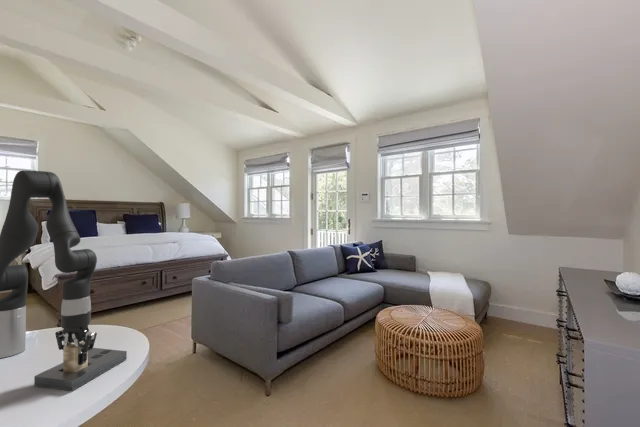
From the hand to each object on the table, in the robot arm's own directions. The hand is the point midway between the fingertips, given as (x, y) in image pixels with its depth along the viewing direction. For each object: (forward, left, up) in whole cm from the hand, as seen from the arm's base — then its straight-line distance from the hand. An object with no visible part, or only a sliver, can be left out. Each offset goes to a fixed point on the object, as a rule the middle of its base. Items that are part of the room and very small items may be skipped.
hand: (75, 362), depth 98 cm
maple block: (0, 0, -3) cm, 3 cm away
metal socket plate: (0, +3, -4) cm, 5 cm away
